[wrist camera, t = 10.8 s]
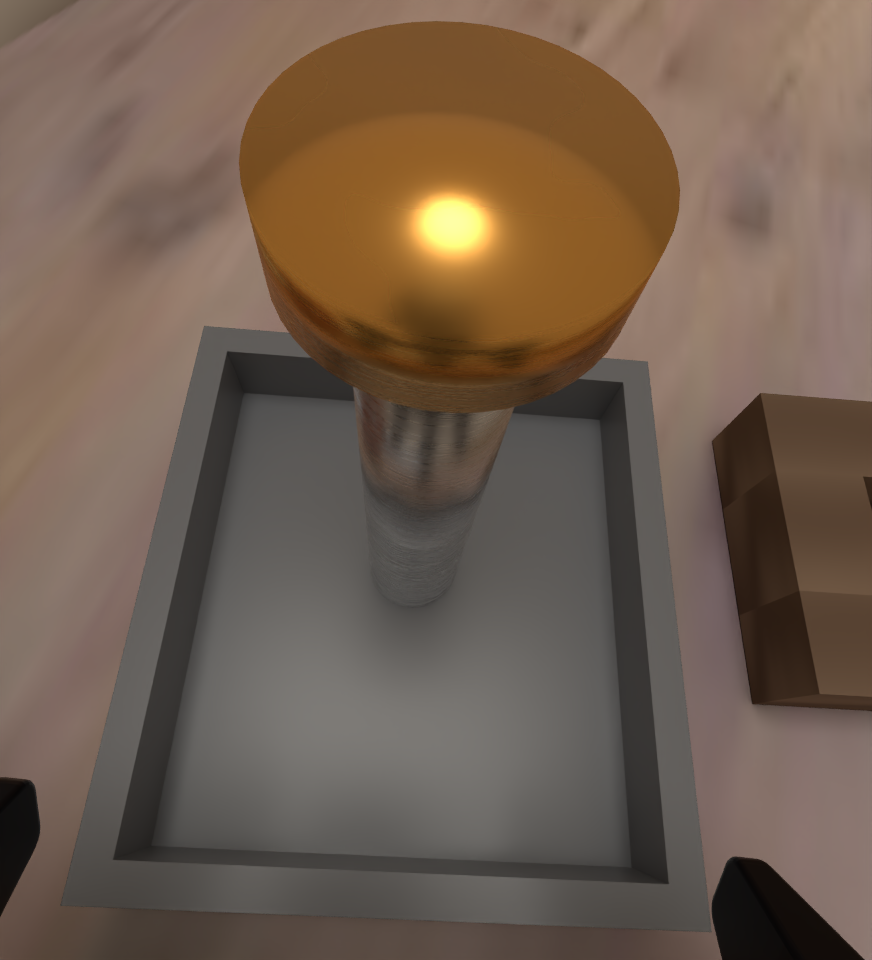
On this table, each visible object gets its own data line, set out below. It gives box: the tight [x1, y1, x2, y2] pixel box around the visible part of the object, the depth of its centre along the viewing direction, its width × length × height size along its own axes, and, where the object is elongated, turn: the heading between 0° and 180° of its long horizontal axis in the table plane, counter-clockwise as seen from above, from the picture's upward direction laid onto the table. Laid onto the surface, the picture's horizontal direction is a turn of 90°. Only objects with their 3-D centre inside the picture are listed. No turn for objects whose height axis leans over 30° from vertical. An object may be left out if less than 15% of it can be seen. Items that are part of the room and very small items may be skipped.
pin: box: [239, 21, 680, 608], centre depth 12 cm, size 4×4×13 cm
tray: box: [60, 326, 711, 932], centre depth 17 cm, size 14×13×3 cm
